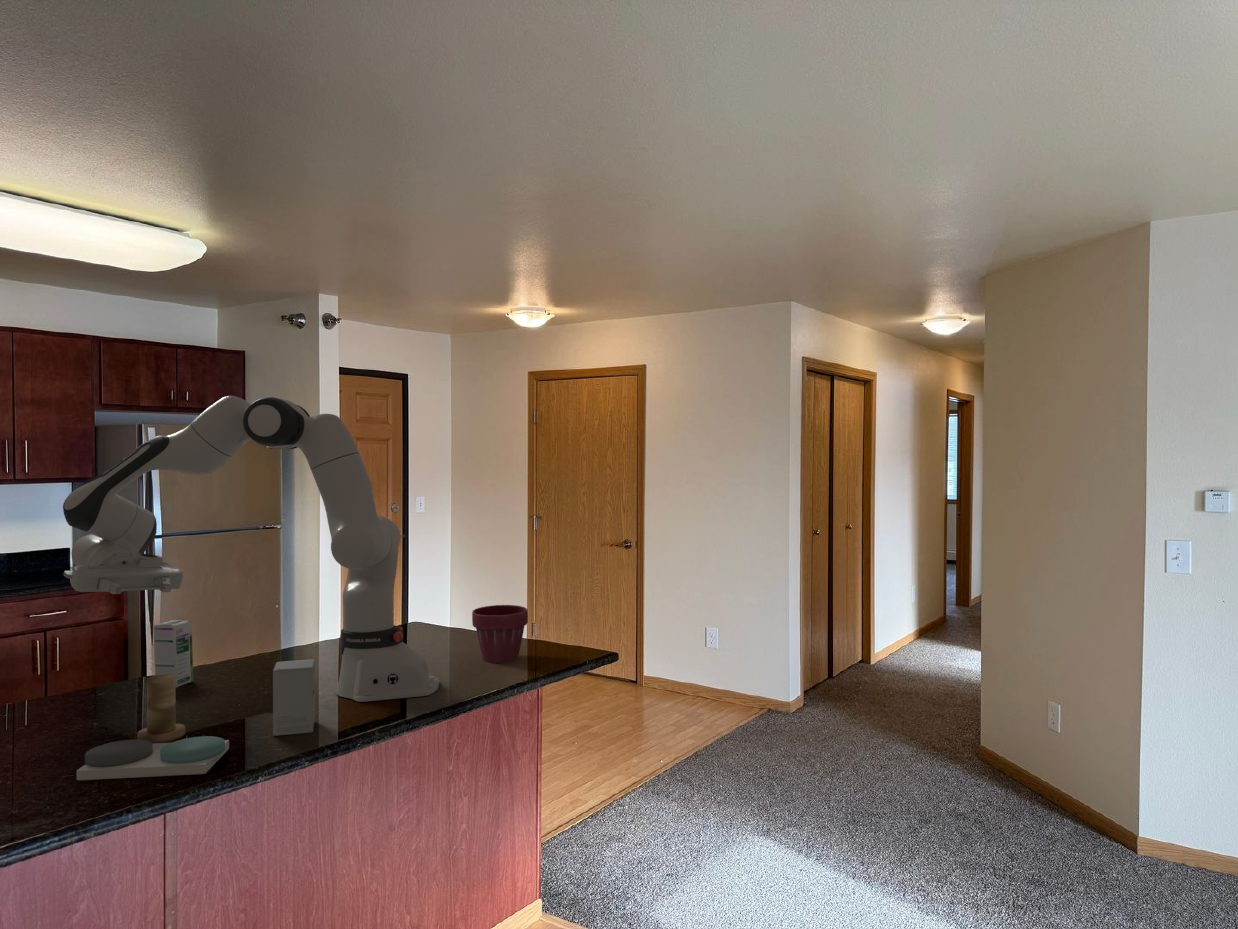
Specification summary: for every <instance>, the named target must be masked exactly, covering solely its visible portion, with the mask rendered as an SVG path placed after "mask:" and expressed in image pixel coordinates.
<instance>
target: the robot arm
mask: <svg viewBox="0 0 1238 929" xmlns="http://www.w3.org/2000/svg"><path fill="white" fill-rule="evenodd" d="M251 441H253V442H255V443H257V444H258V445H261V446H264V447H268V448H271V449H275V450H294V449H298V448H299V450H301V452H302V453H303V455H304V456H305V458H306V461H307V464H308V467H309V469H310V471H311V473H312V476H313V478H314V482H315V483H316V487H317V488H318V491H319V494H320V496H321V499H322V503H323V506H324V510H325V513H326V519H327V525H328V529H329V533H330V534H329V535H330V538H331V540H330V541H331V542H330V551H331V555H332V557H333V559H334V560H335V561H336V563H338V564H339V565H340V566H341V567H343V568H345V569H348V571H347V575H346V582H345V586H344V589H343V592H342V628H341V630H340V634H339V644H340V648H339V649H340V654H341V665H340V672H339V678H338V682H337V687H336V689H335V694H336V695H337V696H339V697H342V698H347V699H351V700H354V701H356V702H359V703H362V702H374V701H375V702H376V701H384V700H395V699H406V698H408V699H409V698H414V697H415V698H416V697H417V698H418V697H426V696H430V695H432V694H434V693H435V692H436V691H438V689H439V687H440V681H439V680H440V679H439V678H438V677H437V676H435V675H430V669H429V665H428V661H427V660H426V658H425V656H423V655H422V654H421V653H420V652H418V651H416V650H415V649H414V648H412V647H410V645H408V644H406V643H405V642H404V630H403V627H399V626H397V625H396V624H395V620H394V618H395V617H394V616H395V615H394V613H395V609H394V608H395V606H394V605H395V604H394V602H395V599H394V598H395V595H394V593H395V584H396V583H395V581H396V575H397V570H398V568H397V567H398V559H399V557H398V556H399V549H400V548H399V547H400V543H401V531H400V529H399V527H398V525H397V524H396V523H395V522H394V521H392V520H391V519H390V518H388V517H386V516H383V515H378V513H377V509H376V505H375V500H374V494H373V484H372V483H373V482H371V477H370V476H369V474H368V470H367V467H366V466H365V464H364V461H363V458H362V456H361V454H360V451H359V449H358V447H357V445H356V443H355V440H354V438H353V436H352V434H351V433H350V431H349V430H348V427H347V426H346V424H345V423H344V421H343V420H342V419H341V417H339V416H338V415H336V414H333V413H320V414H317V415H314V416H311V415H310V414H309V413H308V411H307V410H306V409H305V408H303V406H301V405H299V404H295V403H294V402H292V401H290V400H287V399H284V398H277V397H274V396H267V397H266V396H265V397H263V398H259V399H256V400H255V401H253V402H252V403H250V402H248V401H247V400H245V399H244V398H241V397H239V396H235V395H226V396H223V397H221V398H220V399H218V400H217V401H216V402H214V403H212V405H209V406H208V407H207V408H206V409H205V410H203V411H202V412H201V413H200V414H199V415H197V417H195V419H194V420H192V421H191V422H190V423H189V424H188V425H187V426H185V428H183V429H180V430H179V431H177V432H174V433H172V434H168V435H157V436H154V437H152V438H150V439H149V440H147V441H145V442H144V443H142V444H141V445H139V446H138V447H136V448H135V449H133V450H132V451H130V452H128V454H127V455H125V456H124V457H122V458H121V459H119V460H118V461H117V462H115V463H114V464H113V465H111V466H110V467H108V468H107V469H105V470H104V471H102V472H101V473H100V474H98V475H97V476H95V477H94V478H92V479H90V480H88V481H86V482H84V483H82V484H81V485H79V486H78V487H76V488H74V489H73V490H72V491H71V492H70V493H69V494H68V496H67V497H66V498H65V500H64V502H63V505H62V510H63V516H64V518H65V521H66V523H67V524H68V526H70V527H71V528H74V529H77V530H80V531H83V532H87V533H88V534H87V535H83V536H82V537H80V538H79V539H78V540H77V539H76V541H75V542H74V544H73V545H72V548H71V559H72V563H73V564H74V566H73V567H72V568H71V569H69V570H64V572H63V573H62V575H63V576H64V577H65V578H67V579H70V585H71V587H72V588H73V590H74V591H76V592H80V593H94V592H95V593H96V592H97V593H98V592H101V593H102V592H107V593H110V594H112V595H119V594H120V595H121V594H122V592H124V591H126V592H128V591H132V592H133V591H155V590H156V591H157V590H159V591H160V592H161V593H170V592H171V591H172V590H179V589H180V588H181V587H182V585H183V581H184V580H183V579H184V571H182V570H181V569H180V568H179V567H177V566H175V565H174V564H172V563H170V562H168V561H164V557H162V556H161V555H156V554H149V553H148V554H147V553H145V552H146V551H147V550H148V548H150V546H151V545H152V543H153V542H154V540H155V537H156V535H157V530H158V528H157V526H158V524H157V518H156V515H155V514H154V513H153V512H152V511H150V510H149V509H146V508H144V507H143V506H140V504H137V503H135V502H133V501H130V500H129V499H127V498H125V497H123V496H121V495H119V494H118V493H119V492H120V491H122V490H123V489H125V488H126V487H128V486H129V485H130V484H131V483H133V482H134V481H135V480H137V479H139V477H141V476H142V475H144V474H146V473H148V472H153V471H159V470H160V471H161V470H163V471H171V472H172V471H173V472H178V473H182V474H187V475H193V476H194V475H197V476H200V475H202V476H203V475H208V474H212V473H215V472H216V471H218V470H219V469H220V468H222V467H223V466H224V465H226V463H227V462H228V461H230V459H231V458H232V457H233V456H234V455H235V454H236V453H237V452H238V451H239V450H241V448H242V447H243V446H244V445H245V444H247V443H248V442H251Z"/></svg>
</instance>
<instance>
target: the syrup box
mask: <svg viewBox="0 0 1238 929" xmlns="http://www.w3.org/2000/svg"><path fill="white" fill-rule="evenodd" d="M192 625H193V624H192V621H191V620H187V619H174V620H168V621H166V622H161V623H158V624H154V625H153V650H154V652H153V654H154V656H153V657H154V676H156V675H163V674H172V675H175V689H177V688H180V687H182V686H183V685H187V684H190V683H192V682H194V664H193V661H194V660H193V654H194V652H193V629H192Z"/></svg>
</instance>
